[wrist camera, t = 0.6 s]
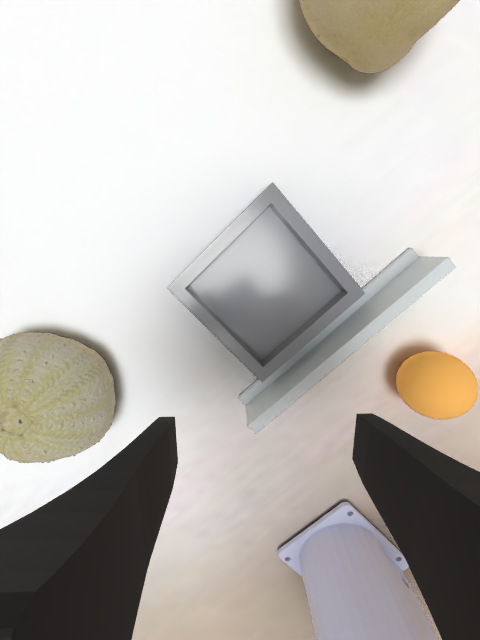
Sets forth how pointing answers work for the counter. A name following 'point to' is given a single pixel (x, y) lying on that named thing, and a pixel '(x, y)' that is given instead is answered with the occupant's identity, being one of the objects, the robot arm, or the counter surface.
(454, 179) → the counter surface
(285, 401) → the divider
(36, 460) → the sea urchin shell
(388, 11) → the potato
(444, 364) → the ball
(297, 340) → the dish
